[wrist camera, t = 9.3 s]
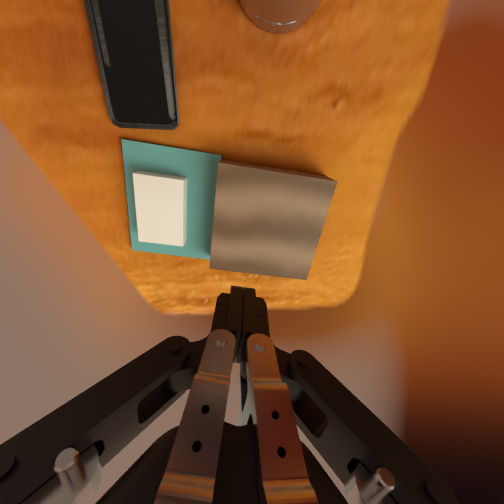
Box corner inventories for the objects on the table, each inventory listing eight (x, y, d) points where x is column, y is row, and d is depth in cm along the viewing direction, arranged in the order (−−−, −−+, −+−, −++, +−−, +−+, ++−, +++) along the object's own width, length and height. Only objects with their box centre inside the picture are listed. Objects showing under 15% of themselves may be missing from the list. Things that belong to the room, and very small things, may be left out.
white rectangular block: (183, 180, 27) (187, 177, 29) (132, 173, 27) (139, 170, 29) (183, 246, 31) (186, 240, 33) (138, 241, 31) (144, 235, 33)
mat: (123, 139, 28) (121, 139, 27) (221, 155, 29) (221, 155, 28) (133, 248, 34) (131, 250, 34) (212, 258, 35) (212, 259, 35)
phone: (160, -64, 20) (178, 130, 27) (164, -54, 21) (180, 130, 28) (68, -71, 20) (110, 127, 26) (76, -61, 21) (115, 127, 27)
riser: (221, 159, 29) (218, 162, 25) (326, 176, 30) (337, 181, 26) (213, 255, 35) (209, 268, 31) (300, 266, 36) (306, 280, 33)
